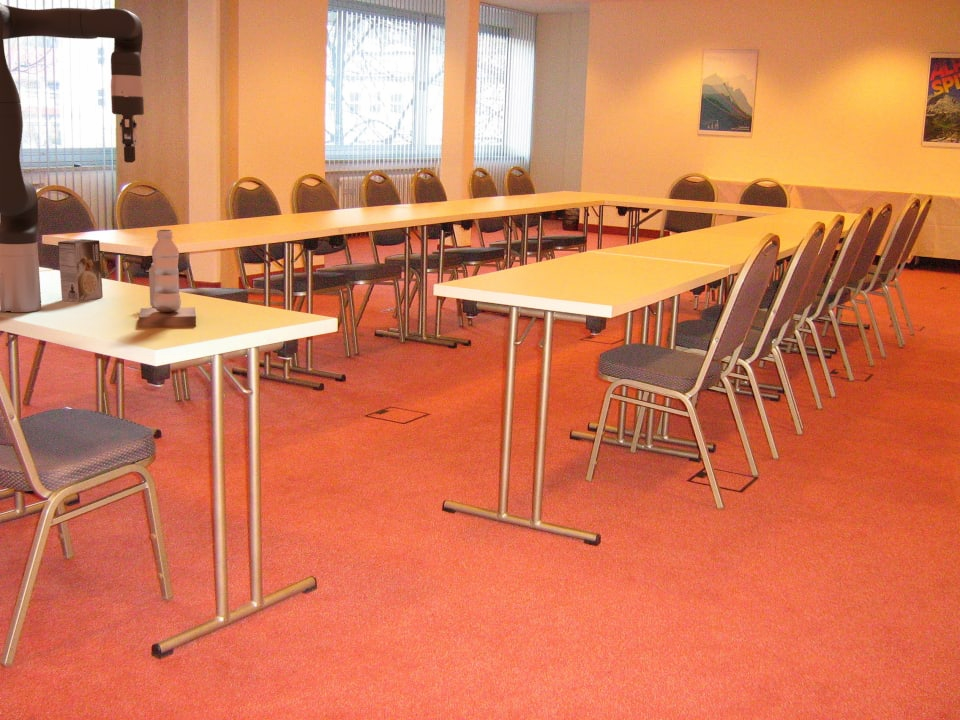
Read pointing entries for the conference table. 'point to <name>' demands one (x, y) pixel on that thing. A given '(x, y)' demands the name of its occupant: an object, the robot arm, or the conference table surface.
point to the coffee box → (80, 270)
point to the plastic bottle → (166, 273)
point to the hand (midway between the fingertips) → (130, 161)
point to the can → (152, 283)
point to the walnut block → (167, 318)
